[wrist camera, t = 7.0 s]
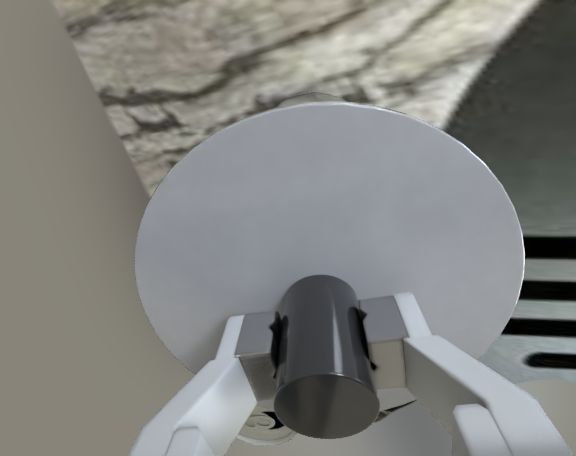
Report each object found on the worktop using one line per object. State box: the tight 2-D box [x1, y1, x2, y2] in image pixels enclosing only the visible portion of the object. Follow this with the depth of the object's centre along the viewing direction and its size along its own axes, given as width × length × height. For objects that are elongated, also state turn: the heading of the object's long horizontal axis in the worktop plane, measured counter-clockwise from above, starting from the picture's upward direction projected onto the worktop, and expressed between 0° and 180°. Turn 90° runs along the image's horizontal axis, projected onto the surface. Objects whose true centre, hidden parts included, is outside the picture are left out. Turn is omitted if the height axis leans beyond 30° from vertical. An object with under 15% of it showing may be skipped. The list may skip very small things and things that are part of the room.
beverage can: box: [236, 406, 297, 446], centre depth 28 cm, size 6×6×12 cm
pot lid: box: [135, 101, 525, 439], centre depth 9 cm, size 12×12×5 cm
